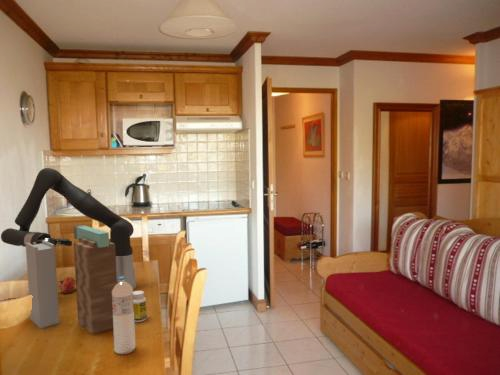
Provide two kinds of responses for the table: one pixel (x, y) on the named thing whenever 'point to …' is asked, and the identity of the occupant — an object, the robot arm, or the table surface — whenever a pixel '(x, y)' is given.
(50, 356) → the table surface
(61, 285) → the pomegranate
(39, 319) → the grey stand
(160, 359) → the table surface
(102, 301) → the walnut stand
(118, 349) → the water bottle
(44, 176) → the robot arm
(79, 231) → the teal bar
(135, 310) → the pill bottle
